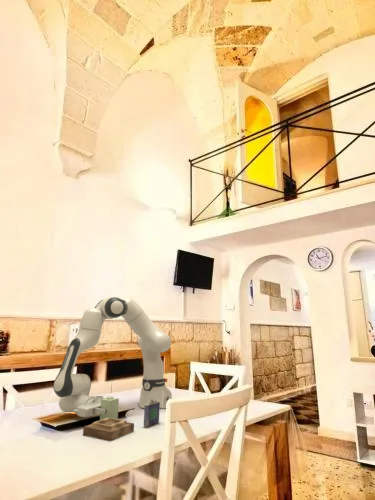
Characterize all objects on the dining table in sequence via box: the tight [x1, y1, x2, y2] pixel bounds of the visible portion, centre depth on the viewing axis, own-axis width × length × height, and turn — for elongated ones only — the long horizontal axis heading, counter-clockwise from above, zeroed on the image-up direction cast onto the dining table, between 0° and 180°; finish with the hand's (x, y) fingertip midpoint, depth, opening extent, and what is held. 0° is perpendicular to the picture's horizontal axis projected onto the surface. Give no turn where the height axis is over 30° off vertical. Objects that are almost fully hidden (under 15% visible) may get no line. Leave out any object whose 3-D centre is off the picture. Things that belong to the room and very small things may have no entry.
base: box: [82, 418, 135, 442], centre depth 131 cm, size 14×14×4 cm
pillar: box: [99, 396, 120, 421], centre depth 146 cm, size 6×6×11 cm
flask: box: [143, 398, 160, 429], centre depth 143 cm, size 9×3×11 cm, turn 146°
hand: (110, 409), depth 145 cm, fingers closed on pillar, 5 cm apart
